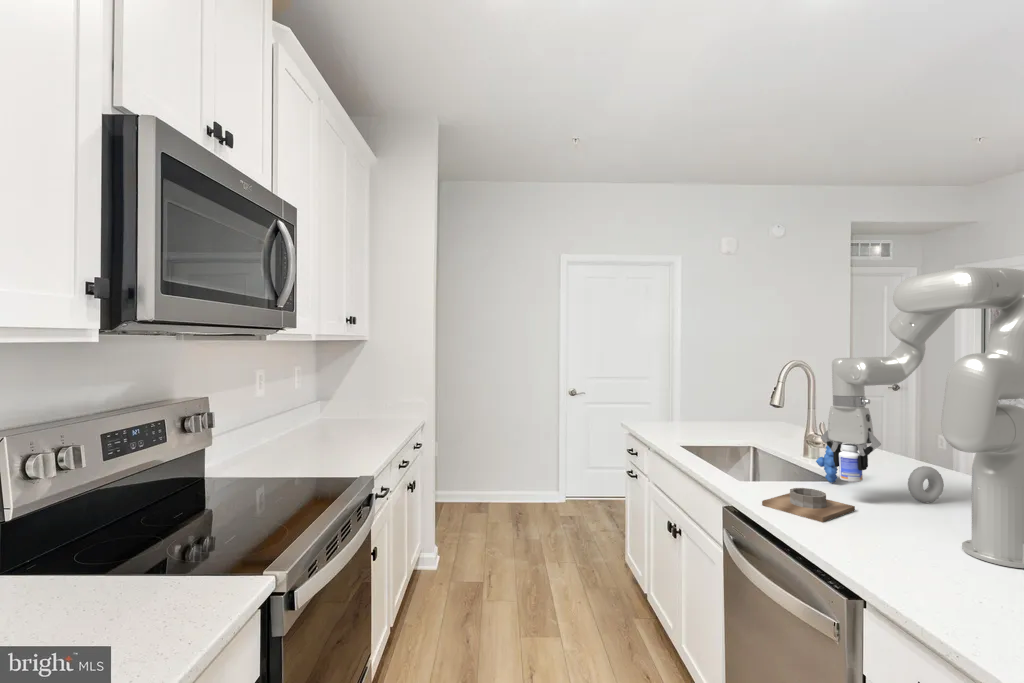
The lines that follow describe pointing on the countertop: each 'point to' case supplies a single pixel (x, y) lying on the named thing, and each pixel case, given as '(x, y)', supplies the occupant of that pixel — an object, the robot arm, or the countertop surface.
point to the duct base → (809, 512)
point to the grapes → (828, 465)
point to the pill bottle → (849, 463)
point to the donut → (933, 484)
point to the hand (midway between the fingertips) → (850, 467)
